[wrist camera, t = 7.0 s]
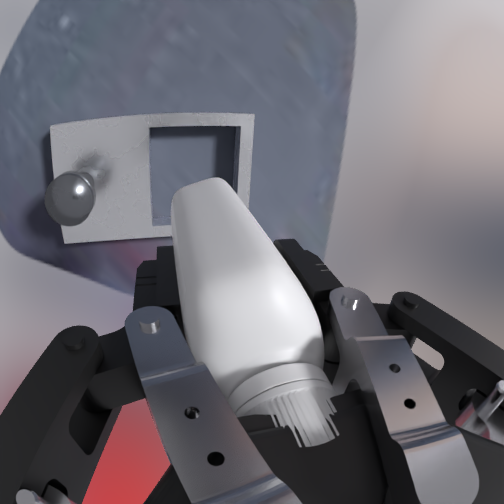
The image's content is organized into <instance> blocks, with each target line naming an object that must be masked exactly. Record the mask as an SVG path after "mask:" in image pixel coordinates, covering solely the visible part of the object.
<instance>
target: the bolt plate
mask: <svg viewBox="0 0 504 504" xmlns="http://www.w3.org/2000/svg"><path fill="white" fill-rule="evenodd" d="M254 115H255V114H251V113H237V112H170V113H148V114H133V115H121V116H111V117H101V118H93V119H85V120H77V121H71V122H64V123H58V124H55V125H51V126H50V136H51V151H52V163H53V173H54V180H53V181H52V182H51V183H50V184H49V186H48V188H47V190H46V193H45V206H46V210H47V212H48V214H49V215H50V217H51V218H52V219H53V220H54V221H55V222H57V223H58V224H60V225H61V228H62V233H63V238H64V243H65V244H67V243H80V242H93V241H107V240H121V239H136V238H151V237H166V236H172V228H171V216H165V217H153V206H152V186H151V149H150V127H170V126H236V130H235V149H234V169H233V190H234V191H235V193H236V194H237V195H238V197H239V198H240V199H241V201H242V202H243V203H244V205H245V206H246V207H247V209H248V208H249V192H250V176H251V161H252V146H253V130H254Z"/></svg>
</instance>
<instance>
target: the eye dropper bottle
mask: <svg viewBox="0 0 504 504" xmlns="http://www.w3.org/2000/svg"><path fill="white" fill-rule="evenodd" d="M171 228H172V239H173V248H174V257H175V266H176V274H177V282H178V290H179V297H180V304H181V313H182V320H183V326H184V332H185V337H186V342H187V344H188V346H189V348H190V350H191V352H192V354H193V356H194V358H195V360H196V362H201V361H202V362H204V363H205V365H206V366H207V368H208V369H209V371H210V373H211V375H212V376H213V378H214V380H215V382H216V383H217V385H218V387H219V389H220V390H221V392H222V394H223V395H224V397H225V399H226V401H227V402H228V404H229V406H230V407H231V409H232V411H233V412H234V414H235V415H236V417H242V416H248V415H254V414H263V415H271V417H272V419H273V422H274V424H275V427H278V425H277V423H276V420H275V418H274V415H276V416H277V418H278V421H279V423H280V426H283V427H285V425H288V426H289V427H290V428H291V430H292V431H293V433H294V436H295V438H296V440H297V443H298V445H299V447H302V446H301V444H300V441H299V439H298V437H297V435H296V432H295V428H294V425H295V426H296V428H297V429H298V431H299V433H300V435H301V438H302V440H303V442H304V444H305V446H306V447H312V446H316V445H320V444H323V443H326V442H328V441H330V440H332V439H334V438H335V437H334V435H333V433H332V431H331V429H330V427H329V425H328V423H327V421H326V419H327V420H328V421H329V422H330V423H331V425H332V427H333V429H334V431H335V432H336V434H337V436H339V433H338V431H337V429H336V427H335V425H334V423H333V421H332V420H331V418H330V416H329V414H332V415H334V414H333V412H334V413H335V412H337V411H336V409H335V407H334V405H333V404H332V402H331V400H330V398H331V397H334V396H337V394H336V392H335V390H334V388H333V387H332V385H331V383H330V382H329V380H328V378H327V376H326V375H325V373H324V371H323V366H324V341H323V334H322V330H321V326H320V322H319V319H318V317H317V314H316V311H315V309H314V307H313V305H312V303H311V301H310V299H309V297H308V295H307V293H306V292H305V290H304V288H303V287H302V285H301V283H300V282H299V280H298V279H297V277H296V276H295V274H294V273H293V271H292V270H291V269H290V267H289V266H288V264H287V263H286V261H285V260H284V258H283V257H282V255H281V254H280V253H279V251H278V250H277V248H276V247H275V246H274V244H273V243H272V241H271V240H270V239H269V237H268V236H267V235H266V233H265V232H264V230H263V229H262V228H261V226H260V225H259V224H258V222H257V221H256V220H255V218H254V217H253V215H252V214H251V213H250V211H249V210H248V209H247V207H246V206H245V205H244V203H243V202H242V201H241V199H240V198H239V197H238V195H237V194H236V193H235V191H234V190H233V189H232V188H231V186H230V185H229V184H228V183H227V182H226V181H225V180H223V179H221V178H209V179H206V180H202V181H199V182H196V183H193V184H190V185H187V186H185V187H182V188H180V189H179V190H178V191H176V192H175V194H174V196H173V198H172V204H171ZM326 400H327V401H328V403H329V404H328V403H327V401H326ZM329 405H330V406H329ZM330 407H331V408H332V410H333V412H332V410H331V408H330ZM325 418H326V419H325ZM304 431H305V432H304ZM326 432H327V433H326ZM305 433H306V434H305ZM327 434H328V435H327ZM306 435H307V436H306ZM328 436H329V437H328ZM307 437H308V438H307ZM329 438H330V439H329ZM308 439H309V440H308ZM309 441H310V442H309ZM310 443H311V444H310Z"/></svg>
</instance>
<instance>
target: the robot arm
mask: <svg viewBox="0 0 504 504" xmlns="http://www.w3.org/2000/svg"><path fill="white" fill-rule="evenodd" d="M273 244H274V246H275V247H276V248H277V250H278V251H279V253H280V254H281V255H282V257H283V258H284V260H285V261H286V263H287V264H288V266H289V267H290V269H291V270H292V271H293V273H294V274H295V276H296V277H297V279H298V280H299V282H300V283H301V285H302V287H303V288H304V290H305V292H306V293H307V295H308V297H309V299H310V301H311V303H312V305H313V307H314V309H315V311H316V314H317V317H318V319H319V322H320V326H321V330H322V334H323V341H324V366H323V371H324V373H325V375H326V376H327V378H328V380H329V382H330V383H331V385H332V387H333V388H334V390H335V392H336V394H337V396H334V397H331V398H330V400H331V402H332V404H333V405H334V407H335V409H336V411H337V412H335V413H334V412H333V410H332V408H331V407H330V408H331V410H332V412H333V414H334V415H332V414H329V416H330V418H331V420H332V421H333V423H334V425H335V427H336V429H337V431H338V433H339V436H337V434H336V432H335V431H334V429H333V427H332V425H331V423H330V422H329V421H328V420H327V419H326V418H325V419H326V421H327V423H328V425H329V427H330V429H331V431H332V433H333V435H334V437H335V438H334V439H332V440H330V441H328V442H326V443H323V444H320V445H316V446H312V447H306V446H305V444H304V442H303V440H302V438H301V435H300V433H299V431H298V429H297V428H296V426H295V425H294V428H295V432H296V435H297V437H298V439H299V441H300V444H301V446H302V447H299V445H298V443H297V440H296V438H295V436H294V433H293V431H292V430H291V428H290V427H289V426H288V425H285V427H283V426H280V423H279V421H278V418H277V416H276V415H274V418H275V420H276V423H277V425H278V427H275V424H274V422H273V419H272V417H271V415H263V414H254V415H248V416H242V417H236V415H235V414H234V412H233V411H232V409H231V407H230V406H229V404H228V402H227V401H226V399H225V397H224V395H223V394H222V392H221V390H220V389H219V387H218V385H217V383H216V382H215V380H214V378H213V376H212V375H211V373H210V371H209V369H208V368H207V366H206V365H205V363H204V362H202V361H201V362H196V360H195V358H194V356H193V354H192V352H191V350H190V348H189V346H188V344H187V342H186V337H185V332H184V326H183V320H182V313H181V304H180V297H179V290H178V282H177V274H176V266H175V257H174V248H173V246H159V247H157V260H149V261H143V262H142V264H141V265H140V266H139V267H138V268H137V274H136V283H135V293H134V304H133V312H132V313H130V314H129V315H128V317H127V318H126V320H125V326H124V327H123V328H121V329H120V330H118V331H115V332H113V333H109V334H106V335H103V336H99V337H98V335H97V333H96V332H95V331H94V330H93V329H92V328H90V327H87V326H72V327H69V328H67V329H64V330H63V331H61V332H60V333H58V335H57V336H56V337H55V338H54V339H53V340H52V342H51V343H50V345H49V346H48V347H47V349H46V350H45V351H44V352H43V354H42V355H41V356H40V358H39V359H38V361H37V362H36V363H35V365H34V366H33V368H32V369H31V370H30V372H29V374H28V375H27V376H26V377H25V379H24V380H23V382H22V384H21V385H20V386H19V388H18V389H17V391H16V392H15V394H14V395H13V397H12V399H11V400H10V401H9V403H8V405H7V406H6V408H5V409H4V410H3V412H2V414H1V415H0V504H82V502H83V499H84V496H85V494H86V491H87V489H88V486H89V484H90V481H91V479H92V476H93V474H94V471H95V469H96V466H97V464H98V462H99V459H100V457H101V454H102V452H103V450H104V447H105V445H106V443H107V440H108V438H109V436H110V433H111V431H112V429H113V426H114V424H115V422H116V420H117V417H118V415H119V413H120V411H121V408H122V406H123V405H126V404H129V403H132V402H134V401H137V400H140V399H143V398H145V399H146V401H147V404H148V407H149V410H150V413H151V416H152V418H153V421H154V424H155V426H156V429H157V431H158V434H159V436H160V439H161V442H162V444H163V447H164V449H165V452H166V454H167V456H168V459H169V461H170V463H171V464H170V466H169V468H168V469H167V471H166V472H165V473H164V475H163V476H162V478H161V479H160V481H159V482H158V484H157V485H156V486H155V488H154V489H153V491H152V492H151V494H150V495H149V496H148V498H147V499H146V501H145V502H144V503H143V504H504V350H503V349H501V348H500V347H498V346H497V345H495V344H494V343H492V342H491V341H489V340H487V339H486V338H485V337H483V336H482V335H480V334H479V333H477V332H476V331H474V330H472V329H471V328H469V327H468V326H466V325H465V324H463V323H461V322H460V321H458V320H457V319H455V318H453V317H452V316H450V315H449V314H447V313H446V312H444V311H442V310H441V309H439V308H438V307H436V306H435V305H433V304H431V303H430V302H428V301H426V300H425V299H423V298H422V297H420V296H418V295H416V294H413V293H410V292H397V293H395V294H394V295H393V298H392V300H391V303H390V304H378V303H372V302H371V300H370V298H369V297H368V296H367V295H366V294H365V293H363V292H362V291H360V290H357V289H355V288H350V287H344V286H343V285H342V284H341V283H340V282H339V281H338V279H337V278H336V277H335V276H334V275H333V274H332V272H331V271H329V269H328V268H327V266H326V265H324V263H323V262H322V261H321V259H320V258H319V257H318V256H317V255H315V254H313V253H311V252H310V251H308V250H303V248H302V247H301V246H300V245H299V244H298V242H297V241H296V240H295V239H280V240H275V241H274V243H273ZM416 338H419V339H420V340H422V341H423V342H425V343H426V344H427V345H429V346H430V347H432V348H433V349H435V350H436V351H438V352H439V353H440V354H441V355H442V356H443V358H444V366H443V368H442V369H441V370H437V369H435V368H433V367H432V366H431V365H429V364H428V363H426V362H425V361H424V360H422V359H421V358H419V357H418V356H416V355H415V354H414V353H413V352H412V350H411V348H412V346H413V344H414V342H415V340H416ZM326 401H327V400H326ZM327 403H328V401H327ZM328 404H329V403H328ZM329 406H330V405H329ZM304 432H305V431H304ZM326 433H327V432H326ZM305 434H306V433H305ZM327 435H328V434H327ZM306 436H307V435H306ZM328 437H329V436H328ZM307 438H308V437H307ZM329 439H330V438H329ZM308 440H309V439H308ZM309 442H310V441H309ZM310 444H311V443H310Z"/></svg>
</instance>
